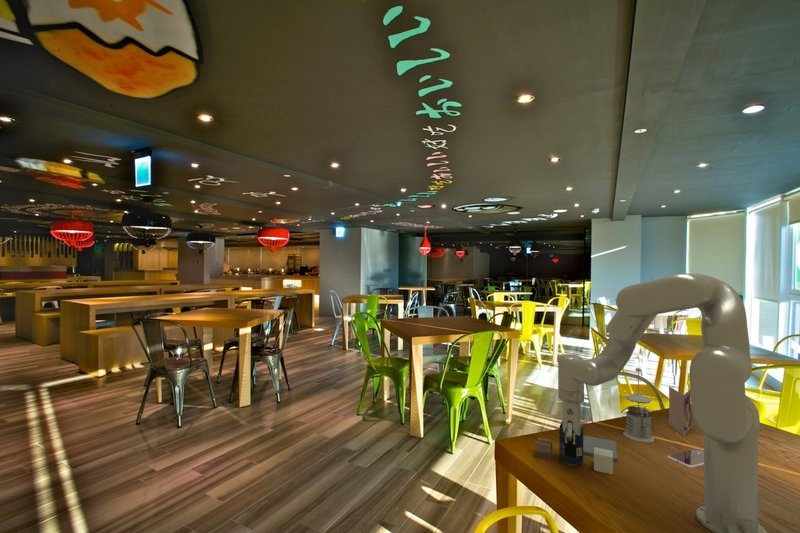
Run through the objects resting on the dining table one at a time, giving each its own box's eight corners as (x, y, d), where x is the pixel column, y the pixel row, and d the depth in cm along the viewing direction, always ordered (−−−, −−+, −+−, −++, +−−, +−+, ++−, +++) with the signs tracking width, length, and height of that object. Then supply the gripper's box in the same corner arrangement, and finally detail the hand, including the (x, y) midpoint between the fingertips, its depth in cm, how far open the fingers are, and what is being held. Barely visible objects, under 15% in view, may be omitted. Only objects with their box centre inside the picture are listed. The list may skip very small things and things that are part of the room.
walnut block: (550, 460, 119) (550, 446, 119) (535, 457, 121) (535, 443, 121) (552, 454, 123) (552, 440, 123) (537, 451, 125) (537, 437, 125)
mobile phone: (665, 454, 122) (696, 447, 127) (665, 457, 122) (696, 450, 127) (690, 465, 115) (722, 458, 120) (690, 469, 115) (722, 461, 120)
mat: (617, 461, 118) (617, 458, 118) (569, 451, 125) (568, 448, 125) (615, 444, 130) (615, 441, 130) (571, 435, 137) (571, 433, 137)
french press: (648, 432, 141) (648, 365, 141) (661, 446, 130) (661, 373, 130) (619, 429, 143) (619, 363, 144) (629, 442, 132) (629, 371, 133)
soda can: (554, 457, 120) (554, 419, 121) (572, 454, 122) (572, 417, 123) (570, 468, 114) (570, 428, 114) (588, 465, 116) (588, 425, 116)
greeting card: (686, 436, 137) (686, 395, 138) (662, 430, 143) (662, 390, 143) (693, 428, 145) (693, 389, 145) (670, 422, 151) (670, 385, 151)
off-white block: (613, 474, 110) (613, 457, 110) (594, 470, 113) (594, 453, 113) (612, 467, 115) (612, 450, 115) (594, 463, 117) (594, 447, 117)
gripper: (583, 404, 109) (583, 466, 109) (584, 389, 124) (585, 443, 124) (555, 400, 113) (555, 460, 112) (560, 385, 128) (560, 438, 127)
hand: (571, 450), depth 118 cm, fingers closed on soda can, 6 cm apart
